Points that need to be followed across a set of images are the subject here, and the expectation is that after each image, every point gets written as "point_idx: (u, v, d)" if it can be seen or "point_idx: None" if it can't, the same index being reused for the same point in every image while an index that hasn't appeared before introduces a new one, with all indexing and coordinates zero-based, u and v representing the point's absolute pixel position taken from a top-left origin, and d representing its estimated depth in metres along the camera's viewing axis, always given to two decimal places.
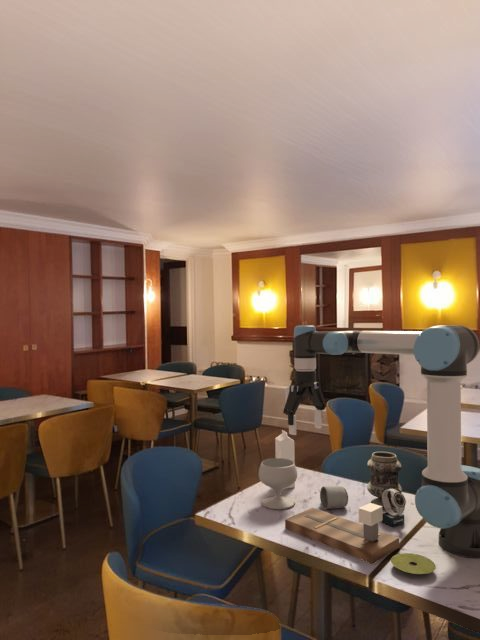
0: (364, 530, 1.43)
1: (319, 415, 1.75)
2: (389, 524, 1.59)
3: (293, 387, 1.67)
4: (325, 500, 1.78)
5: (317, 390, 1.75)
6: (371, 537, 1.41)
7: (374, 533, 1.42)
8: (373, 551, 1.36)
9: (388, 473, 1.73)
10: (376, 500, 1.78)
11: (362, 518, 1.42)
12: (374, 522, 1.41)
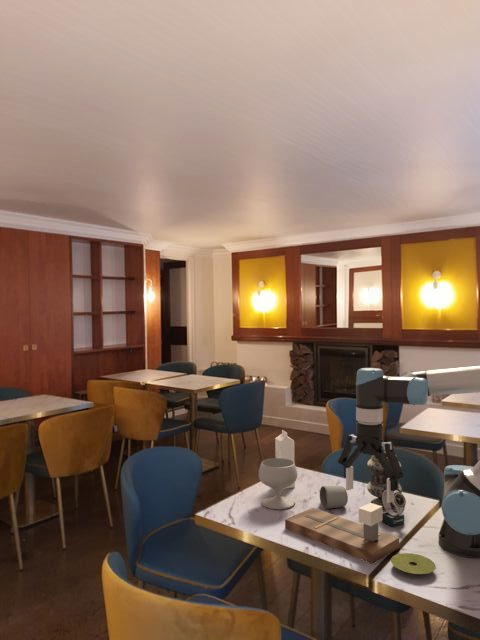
0: (364, 530, 1.43)
1: None
2: (389, 524, 1.59)
3: None
4: (325, 499, 1.78)
5: None
6: (371, 537, 1.41)
7: (374, 533, 1.42)
8: (373, 551, 1.36)
9: None
10: (376, 500, 1.78)
11: (362, 518, 1.42)
12: (374, 522, 1.41)
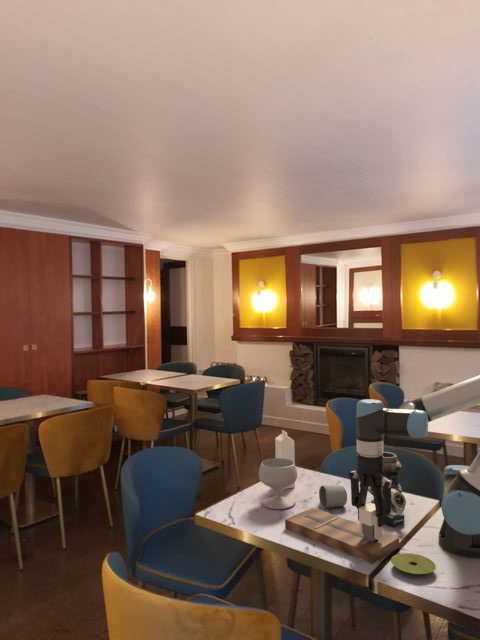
0: (364, 530, 1.43)
1: None
2: (389, 524, 1.59)
3: None
4: (324, 499, 1.79)
5: None
6: (371, 537, 1.41)
7: None
8: (373, 551, 1.36)
9: (388, 473, 1.73)
10: None
11: (362, 518, 1.42)
12: None
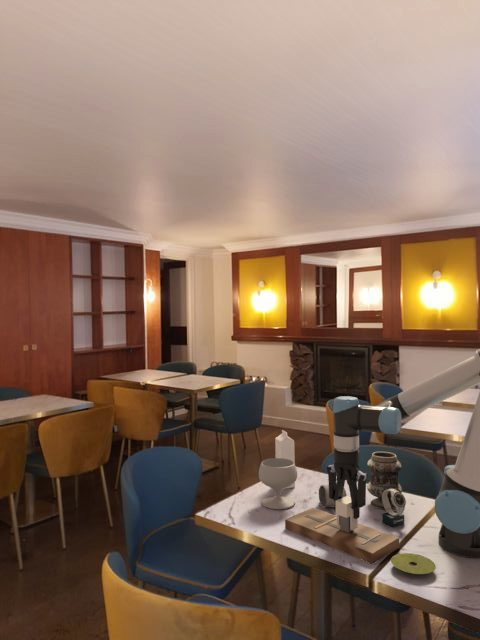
0: (341, 522, 1.49)
1: None
2: (389, 524, 1.59)
3: None
4: (324, 499, 1.79)
5: None
6: (347, 528, 1.47)
7: None
8: (373, 551, 1.36)
9: (388, 473, 1.73)
10: (376, 500, 1.78)
11: (339, 510, 1.48)
12: None
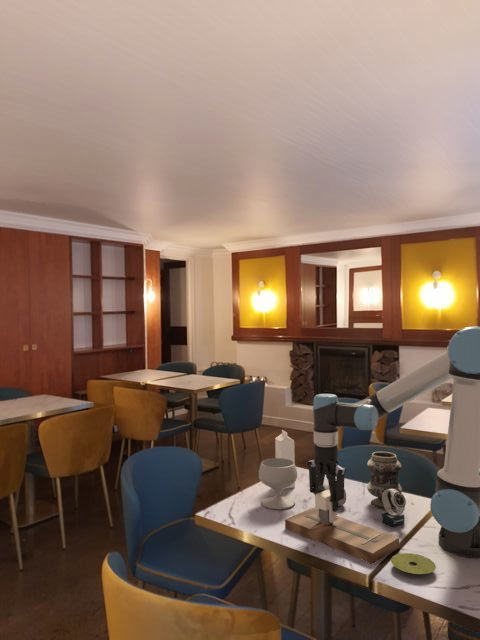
0: (320, 514, 1.55)
1: None
2: (389, 524, 1.59)
3: None
4: None
5: None
6: (326, 521, 1.53)
7: None
8: (373, 551, 1.36)
9: (388, 473, 1.73)
10: (376, 500, 1.78)
11: (318, 504, 1.53)
12: None
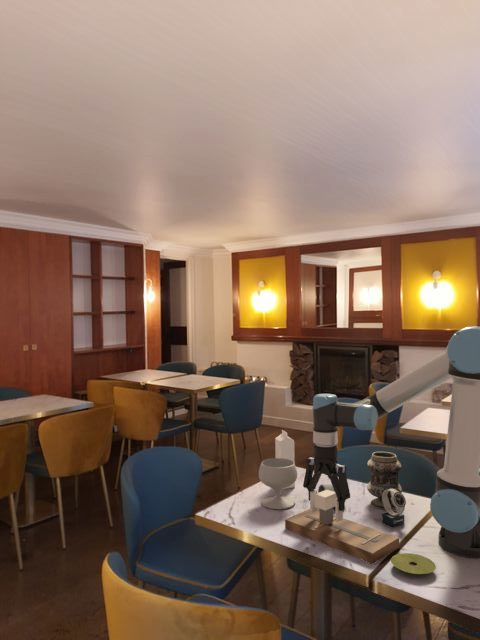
0: (320, 514, 1.55)
1: None
2: (389, 524, 1.59)
3: None
4: None
5: None
6: (326, 521, 1.53)
7: (329, 517, 1.53)
8: (373, 551, 1.36)
9: (388, 473, 1.73)
10: (376, 500, 1.78)
11: (318, 503, 1.53)
12: (328, 507, 1.52)
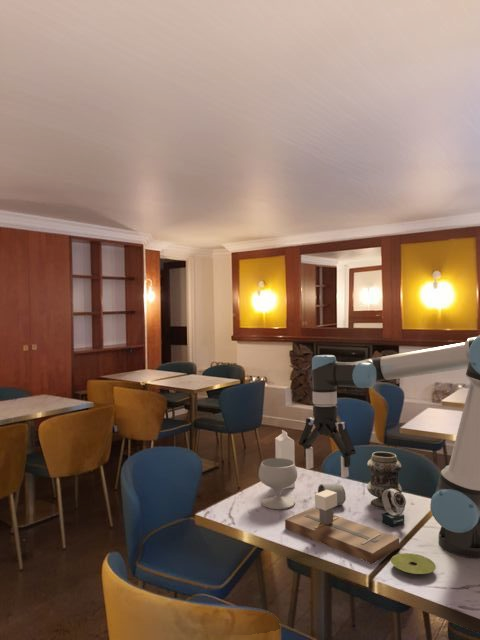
0: (320, 514, 1.55)
1: None
2: (389, 524, 1.59)
3: None
4: None
5: None
6: (326, 521, 1.53)
7: (329, 517, 1.53)
8: (373, 551, 1.36)
9: (388, 473, 1.73)
10: (376, 500, 1.78)
11: (318, 503, 1.53)
12: (328, 507, 1.52)
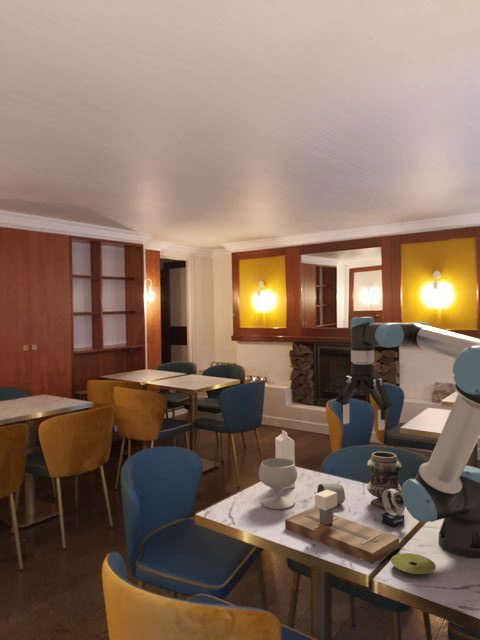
0: (320, 514, 1.55)
1: None
2: (389, 524, 1.59)
3: None
4: None
5: None
6: (326, 521, 1.53)
7: (329, 517, 1.53)
8: (373, 551, 1.36)
9: (388, 473, 1.73)
10: (376, 500, 1.78)
11: (318, 503, 1.53)
12: (328, 507, 1.52)
